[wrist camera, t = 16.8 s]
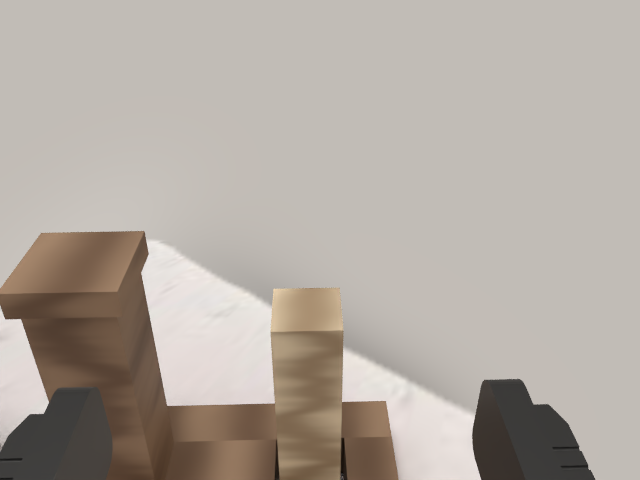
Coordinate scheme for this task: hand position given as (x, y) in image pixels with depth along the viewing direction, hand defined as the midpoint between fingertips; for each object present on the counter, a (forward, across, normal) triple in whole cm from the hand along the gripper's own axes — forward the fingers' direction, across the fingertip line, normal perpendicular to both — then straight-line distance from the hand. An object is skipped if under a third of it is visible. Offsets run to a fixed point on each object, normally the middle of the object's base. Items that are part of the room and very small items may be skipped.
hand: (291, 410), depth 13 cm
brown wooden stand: (+18, +4, +30) cm, 35 cm away
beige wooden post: (+18, 0, +30) cm, 35 cm away
